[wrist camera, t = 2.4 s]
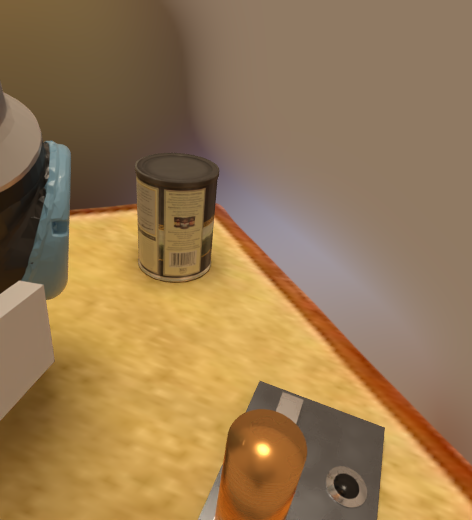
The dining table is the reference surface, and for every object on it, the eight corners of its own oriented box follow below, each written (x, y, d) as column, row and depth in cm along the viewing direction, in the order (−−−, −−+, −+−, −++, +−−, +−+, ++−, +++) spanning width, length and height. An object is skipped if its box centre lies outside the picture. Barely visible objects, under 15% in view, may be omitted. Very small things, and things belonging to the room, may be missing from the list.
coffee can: (181, 236, 64) (185, 148, 57) (225, 266, 59) (236, 172, 51) (122, 256, 58) (118, 159, 50) (166, 292, 52) (168, 188, 45)
